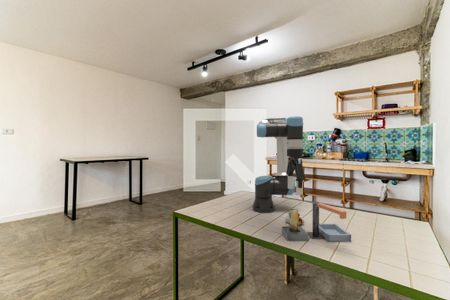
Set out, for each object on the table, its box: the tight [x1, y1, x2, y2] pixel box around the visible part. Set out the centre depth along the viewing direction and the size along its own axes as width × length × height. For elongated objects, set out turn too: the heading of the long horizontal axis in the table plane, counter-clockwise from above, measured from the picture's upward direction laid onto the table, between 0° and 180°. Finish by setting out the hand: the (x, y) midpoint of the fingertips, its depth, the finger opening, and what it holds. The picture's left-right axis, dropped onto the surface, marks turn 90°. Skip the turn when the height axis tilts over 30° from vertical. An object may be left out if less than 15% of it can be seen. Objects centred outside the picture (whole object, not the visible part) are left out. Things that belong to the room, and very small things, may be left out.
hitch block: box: [281, 225, 309, 242], centre depth 106 cm, size 10×10×3 cm
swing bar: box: [312, 201, 347, 220], centre depth 98 cm, size 3×18×3 cm, turn 21°
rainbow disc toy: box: [284, 211, 305, 226], centre depth 122 cm, size 8×10×7 cm
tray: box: [319, 223, 352, 243], centre depth 106 cm, size 14×11×3 cm
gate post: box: [306, 205, 325, 240], centre depth 105 cm, size 6×6×16 cm
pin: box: [290, 208, 299, 232], centre depth 105 cm, size 4×4×13 cm
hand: (294, 191), depth 105 cm, fingers open, 13 cm apart
